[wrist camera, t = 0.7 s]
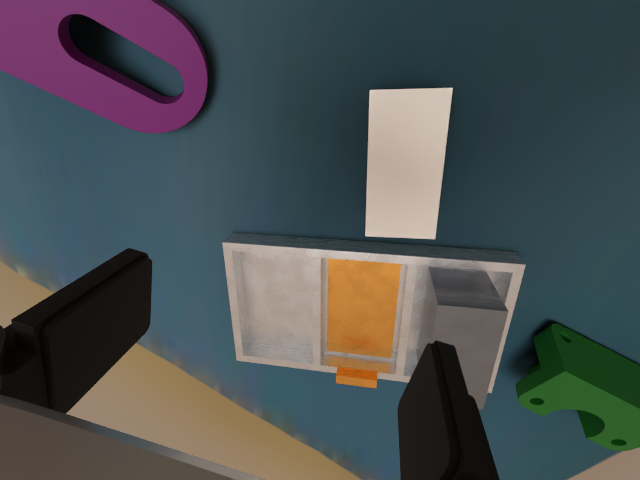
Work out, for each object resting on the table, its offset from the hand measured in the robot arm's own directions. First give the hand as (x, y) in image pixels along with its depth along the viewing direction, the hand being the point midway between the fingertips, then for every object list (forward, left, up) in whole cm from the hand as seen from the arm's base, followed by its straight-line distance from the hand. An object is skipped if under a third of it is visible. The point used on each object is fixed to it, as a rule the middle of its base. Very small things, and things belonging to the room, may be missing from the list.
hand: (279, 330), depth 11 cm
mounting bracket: (+19, -11, -21) cm, 31 cm away
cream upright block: (-5, -2, -21) cm, 22 cm away
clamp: (-23, +18, -21) cm, 36 cm away
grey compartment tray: (-2, +13, -21) cm, 25 cm away
